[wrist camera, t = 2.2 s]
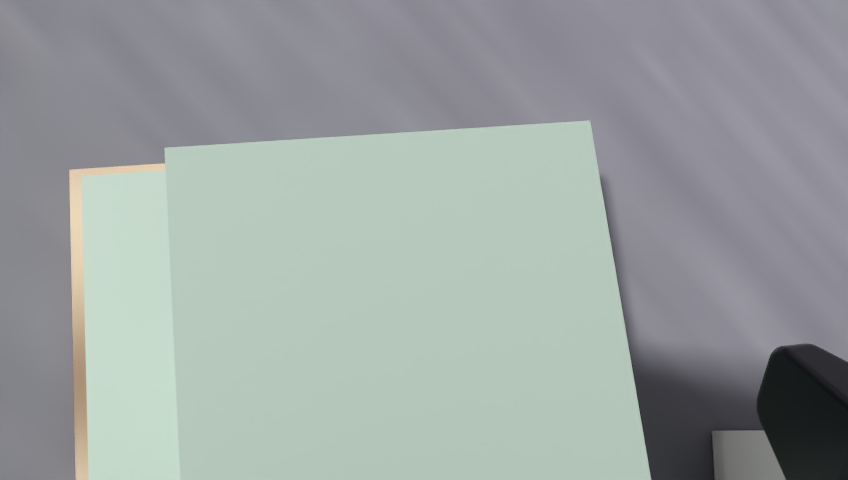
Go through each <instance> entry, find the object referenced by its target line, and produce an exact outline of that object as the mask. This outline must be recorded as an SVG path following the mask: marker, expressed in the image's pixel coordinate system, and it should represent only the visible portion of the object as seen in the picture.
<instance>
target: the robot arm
mask: <svg viewBox="0 0 848 480" xmlns="http://www.w3.org/2000/svg"><path fill="white" fill-rule="evenodd" d="M757 413H758V417H759V420H760V423H761V425H762V427H763V429H764V432H765V434H766V436H767V438H768V441H769V443H770V445H771V447H772V450H773V452H774V454H775V457H776V459H777V461H778V463H779V466H780V468H781V470H782V472H783V475H784V477H785V479H786V480H848V362H846V361H844V360H842V359H841V358H839V357H837V356H835V355H833V354H831V353H829V352H827V351H825V350H823V349H821V348H819V347H817V346H815V345H812V344H797V345H788V346H781V347H778V348H776V349H775V350H774V351H773V352H772V353H771V355H770V358H769V361H768V364H767V367H766V371H765V374H764V377H763V380H762V384H761V387H760V390H759V393H758V397H757Z"/></svg>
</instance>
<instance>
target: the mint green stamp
mask: <svg viewBox="0 0 848 480" xmlns="http://www.w3.org/2000/svg"><path fill="white" fill-rule="evenodd" d="M165 168H166V170H162V171H148V172H133V173H118V174H104V175H89V176H81V183H82V225H83V267H84V309H85V351H86V393H87V436H88V478H89V480H651V476H650V470H649V464H648V458H647V452H646V446H645V440H644V434H643V429H642V423H641V417H640V411H639V405H638V399H637V393H636V388H635V382H634V376H633V370H632V364H631V358H630V352H629V347H628V341H627V335H626V329H625V323H624V317H623V311H622V306H621V300H620V294H619V288H618V282H617V276H616V270H615V264H614V259H613V253H612V247H611V241H610V235H609V229H608V223H607V218H606V212H605V206H604V200H603V194H602V188H601V182H600V177H599V171H598V165H597V159H596V153H595V147H594V141H593V135H592V130H591V124H590V121H577V122H561V123H545V124H530V125H514V126H499V127H483V128H468V129H452V130H436V131H421V132H405V133H390V134H374V135H359V136H343V137H327V138H312V139H296V140H281V141H265V142H250V143H234V144H218V145H203V146H187V147H172V148H165Z"/></svg>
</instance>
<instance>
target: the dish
mask: <svg viewBox="0 0 848 480" xmlns="http://www.w3.org/2000/svg"><path fill="white" fill-rule="evenodd" d="M712 441H713V457H714V474H715V480H786V479H785V477H784V475H783V472H782V470H781V468H780V466H779V463H778V461H777V459H776V457H775V454H774V452H773V450H772V447H771V445H770V443H769V441H768V438H767V436H766V434H765V432H764V430H757V431H712Z"/></svg>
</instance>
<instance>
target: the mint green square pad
mask: <svg viewBox="0 0 848 480" xmlns="http://www.w3.org/2000/svg"><path fill="white" fill-rule="evenodd" d="M162 170H166V168H165V163H164V164H149V165H134V166H119V167H104V168H89V169H74V170H69V171H70V220H71V269H72V318H73V367H74V416H75V465H76V480H89V478H88V436H87V393H86V351H85V309H84V267H83V225H82V183H81V176H89V175H104V174H118V173H133V172H148V171H162Z"/></svg>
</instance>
